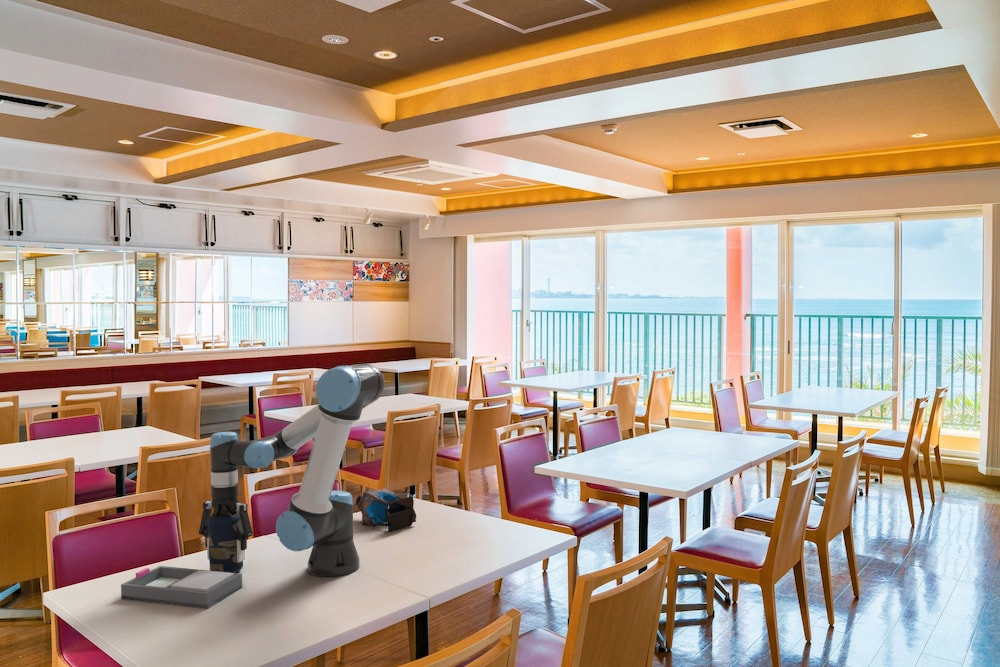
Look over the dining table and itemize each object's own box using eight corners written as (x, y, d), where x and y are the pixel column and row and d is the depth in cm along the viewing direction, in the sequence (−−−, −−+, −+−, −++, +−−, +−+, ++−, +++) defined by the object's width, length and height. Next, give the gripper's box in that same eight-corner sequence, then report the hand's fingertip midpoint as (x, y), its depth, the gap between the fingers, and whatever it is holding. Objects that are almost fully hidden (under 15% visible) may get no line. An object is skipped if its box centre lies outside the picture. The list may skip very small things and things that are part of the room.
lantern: (405, 547, 261) (358, 530, 277) (427, 506, 268) (381, 492, 284) (379, 525, 251) (332, 509, 266) (403, 484, 258) (356, 471, 274)
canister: (232, 578, 214) (230, 516, 214) (202, 575, 216) (201, 514, 215) (249, 566, 224) (248, 507, 223) (221, 564, 225) (220, 506, 225)
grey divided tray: (242, 587, 206) (241, 569, 206) (207, 608, 192) (207, 589, 192) (160, 579, 213) (159, 561, 213) (121, 599, 199) (120, 580, 199)
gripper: (264, 483, 220) (266, 558, 220) (200, 479, 225) (202, 552, 226) (250, 489, 212) (251, 566, 213) (184, 485, 218) (186, 560, 219)
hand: (226, 559), depth 220 cm, fingers closed on canister, 9 cm apart
